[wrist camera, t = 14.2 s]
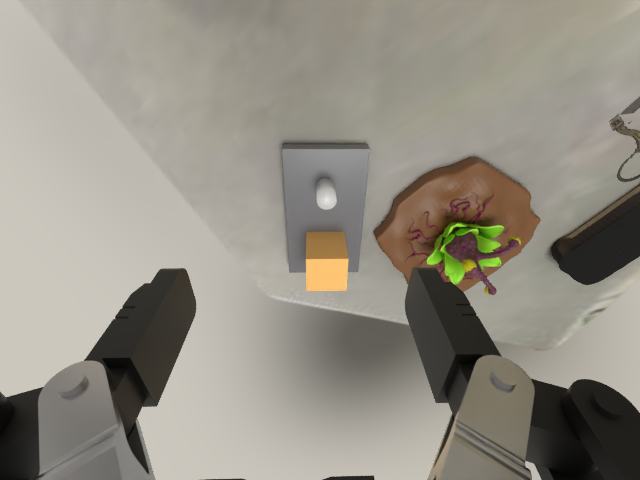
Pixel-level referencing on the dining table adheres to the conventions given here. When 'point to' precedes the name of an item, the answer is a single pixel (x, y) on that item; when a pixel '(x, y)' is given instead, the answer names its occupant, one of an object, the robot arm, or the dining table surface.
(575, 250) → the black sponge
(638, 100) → the hacksaw
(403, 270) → the plant
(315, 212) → the board
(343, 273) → the pale orange cube
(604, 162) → the dining table surface
